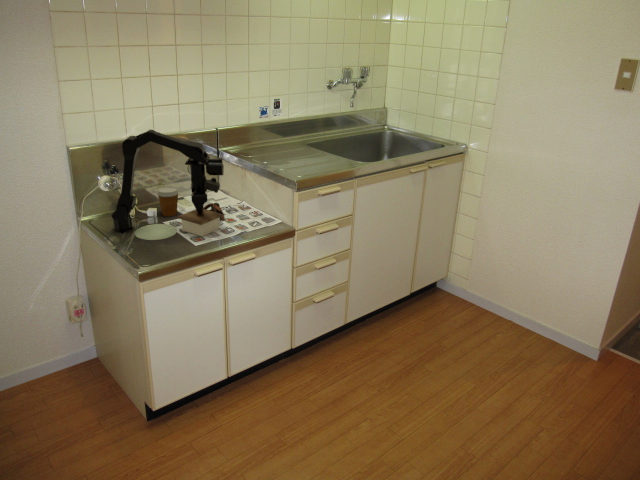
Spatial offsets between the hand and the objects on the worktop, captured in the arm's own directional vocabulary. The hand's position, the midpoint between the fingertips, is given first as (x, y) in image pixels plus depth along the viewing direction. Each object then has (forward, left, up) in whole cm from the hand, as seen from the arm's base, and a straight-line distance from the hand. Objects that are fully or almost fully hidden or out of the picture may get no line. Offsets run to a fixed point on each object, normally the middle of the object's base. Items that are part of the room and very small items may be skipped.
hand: (200, 210), depth 227 cm
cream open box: (0, 0, -9) cm, 9 cm away
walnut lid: (0, 0, -3) cm, 3 cm away
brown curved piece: (+13, +5, -9) cm, 17 cm away
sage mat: (-13, +13, -9) cm, 20 cm away
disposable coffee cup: (+5, +24, -9) cm, 26 cm away
